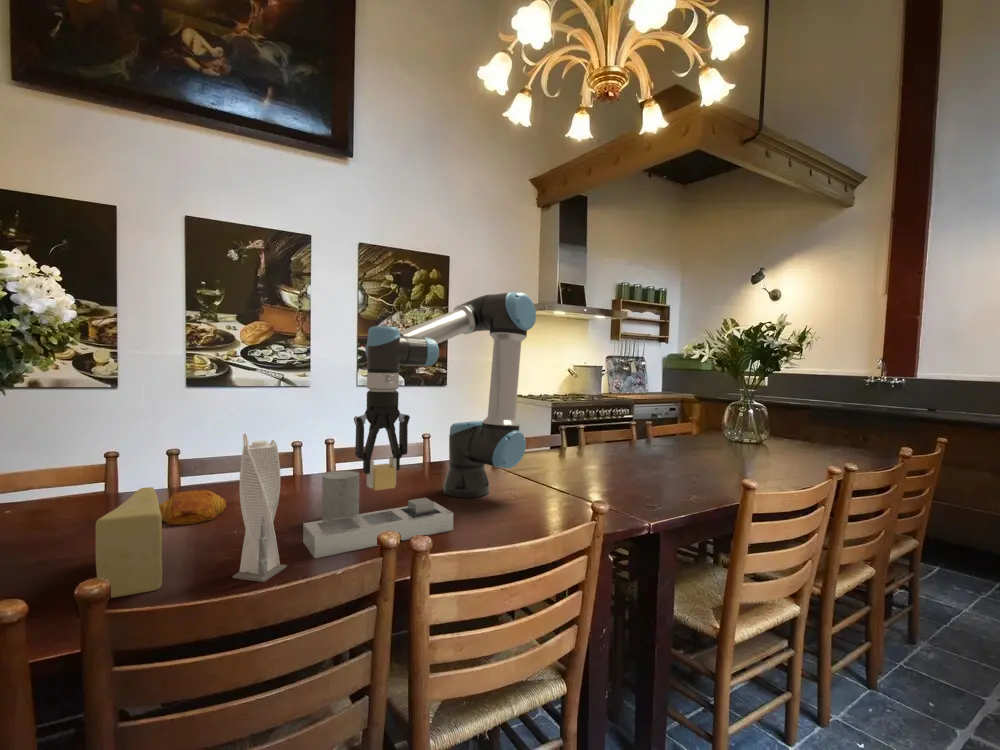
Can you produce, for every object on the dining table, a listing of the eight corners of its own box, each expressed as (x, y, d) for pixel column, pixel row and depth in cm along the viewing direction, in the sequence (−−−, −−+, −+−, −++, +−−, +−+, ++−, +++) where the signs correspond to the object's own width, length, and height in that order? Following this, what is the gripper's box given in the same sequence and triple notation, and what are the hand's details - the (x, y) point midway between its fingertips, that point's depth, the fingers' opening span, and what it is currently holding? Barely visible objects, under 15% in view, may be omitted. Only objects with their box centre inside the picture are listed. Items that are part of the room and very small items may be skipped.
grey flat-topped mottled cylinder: (324, 528, 125) (324, 480, 125) (319, 516, 134) (319, 472, 133) (362, 522, 130) (362, 476, 129) (355, 512, 138) (355, 469, 138)
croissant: (167, 520, 136) (162, 491, 135) (230, 507, 141) (225, 480, 141) (150, 536, 122) (145, 505, 122) (221, 521, 128) (216, 491, 127)
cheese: (122, 556, 106) (121, 487, 106) (175, 548, 111) (175, 482, 110) (94, 602, 87) (93, 518, 86) (161, 591, 91) (160, 511, 91)
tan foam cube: (368, 485, 121) (368, 465, 121) (387, 483, 123) (387, 463, 123) (375, 490, 117) (375, 469, 116) (395, 487, 119) (395, 467, 119)
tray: (303, 542, 116) (303, 512, 115) (433, 518, 135) (434, 492, 134) (314, 558, 107) (314, 526, 106) (453, 530, 126) (453, 503, 125)
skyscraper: (226, 577, 97) (226, 436, 96) (254, 560, 105) (255, 430, 104) (264, 582, 95) (264, 438, 94) (290, 565, 103) (290, 432, 102)
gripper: (350, 391, 111) (349, 493, 112) (423, 390, 121) (421, 484, 122) (340, 389, 117) (339, 486, 118) (411, 388, 127) (409, 477, 128)
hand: (381, 485), depth 120 cm, fingers closed on tan foam cube, 5 cm apart
